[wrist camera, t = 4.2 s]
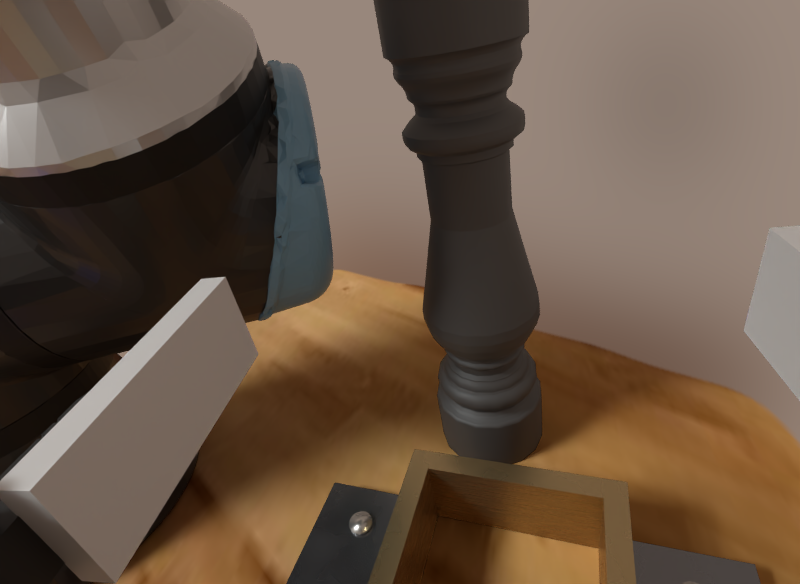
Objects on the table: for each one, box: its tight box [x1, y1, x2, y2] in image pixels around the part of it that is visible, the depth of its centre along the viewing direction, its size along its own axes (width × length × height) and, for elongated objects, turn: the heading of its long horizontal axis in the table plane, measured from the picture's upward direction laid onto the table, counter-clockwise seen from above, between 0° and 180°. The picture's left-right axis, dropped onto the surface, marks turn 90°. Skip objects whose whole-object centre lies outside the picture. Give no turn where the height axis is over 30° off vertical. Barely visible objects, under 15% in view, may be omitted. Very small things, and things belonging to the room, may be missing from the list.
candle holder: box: [374, 0, 542, 464], centre depth 23 cm, size 6×6×25 cm
